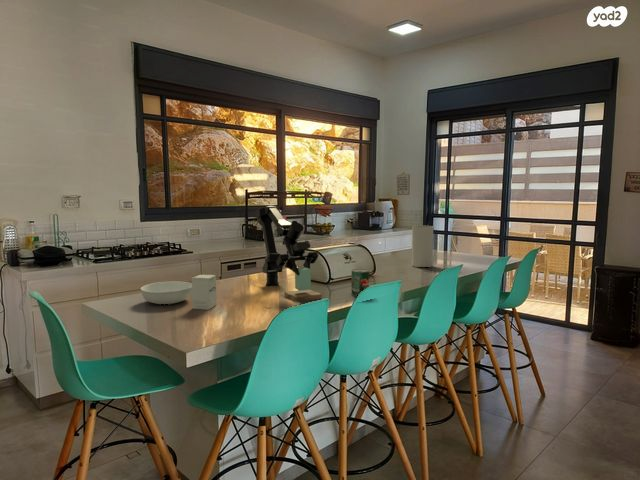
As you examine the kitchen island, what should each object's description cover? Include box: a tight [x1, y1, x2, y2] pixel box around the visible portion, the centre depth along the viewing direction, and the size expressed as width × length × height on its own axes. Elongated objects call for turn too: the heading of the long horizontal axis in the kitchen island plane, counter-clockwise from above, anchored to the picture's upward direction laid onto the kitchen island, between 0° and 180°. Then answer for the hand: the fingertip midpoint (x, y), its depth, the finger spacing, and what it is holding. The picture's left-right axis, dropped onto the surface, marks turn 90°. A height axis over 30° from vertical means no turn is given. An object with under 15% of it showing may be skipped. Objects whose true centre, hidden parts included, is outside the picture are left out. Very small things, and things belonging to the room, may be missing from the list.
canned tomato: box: [351, 268, 370, 297], centre depth 201 cm, size 8×8×11 cm
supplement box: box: [191, 274, 217, 311], centre depth 179 cm, size 7×7×13 cm
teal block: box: [294, 266, 312, 291], centre depth 195 cm, size 5×5×9 cm
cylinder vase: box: [411, 224, 434, 268], centre depth 276 cm, size 12×12×25 cm
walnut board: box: [284, 289, 323, 303], centre depth 196 cm, size 12×12×2 cm
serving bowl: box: [140, 280, 192, 305], centre depth 188 cm, size 21×21×7 cm
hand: (304, 274), depth 194 cm, fingers closed on teal block, 5 cm apart
